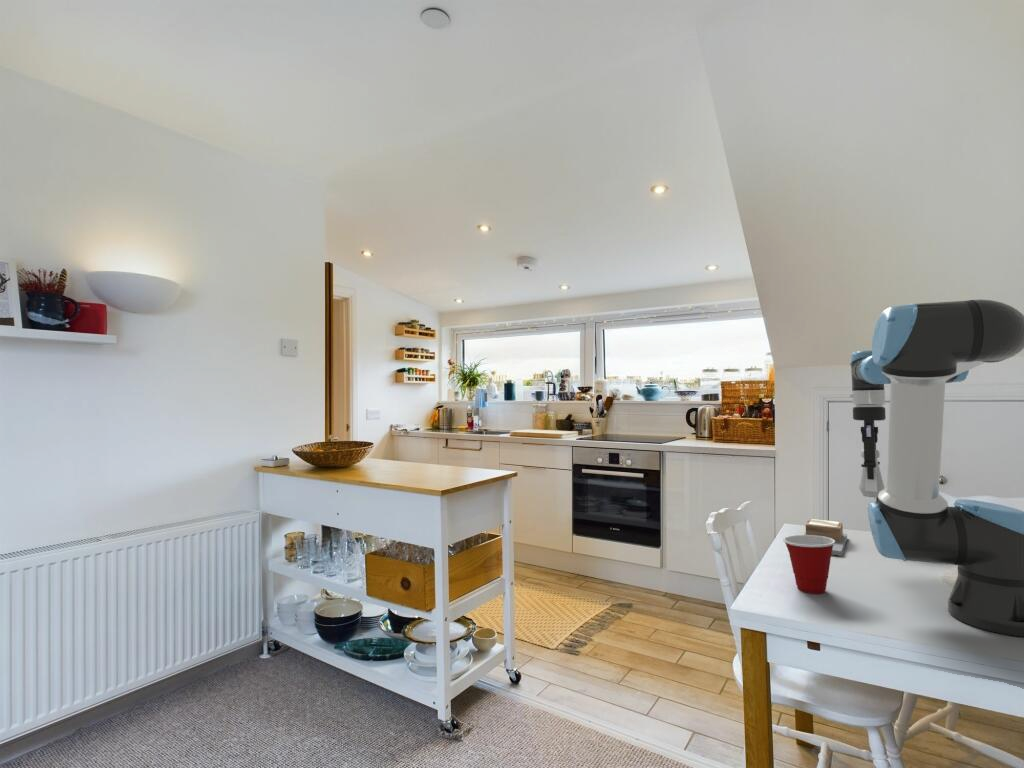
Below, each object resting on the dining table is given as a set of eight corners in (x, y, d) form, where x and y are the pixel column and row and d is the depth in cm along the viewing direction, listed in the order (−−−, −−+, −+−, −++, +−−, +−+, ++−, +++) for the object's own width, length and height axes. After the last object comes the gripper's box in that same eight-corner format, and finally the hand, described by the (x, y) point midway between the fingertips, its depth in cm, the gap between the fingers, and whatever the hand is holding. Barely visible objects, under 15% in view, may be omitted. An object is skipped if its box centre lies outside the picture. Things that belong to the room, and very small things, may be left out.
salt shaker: (876, 494, 147) (875, 448, 147) (889, 498, 141) (887, 450, 141) (854, 494, 147) (853, 448, 148) (866, 498, 142) (864, 450, 142)
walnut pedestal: (840, 542, 155) (839, 527, 155) (806, 537, 160) (805, 523, 160) (842, 535, 162) (842, 521, 162) (809, 531, 168) (809, 518, 168)
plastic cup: (792, 578, 130) (791, 529, 130) (842, 588, 122) (840, 537, 123) (777, 589, 122) (775, 538, 123) (829, 602, 115) (827, 547, 115)
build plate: (841, 556, 146) (841, 551, 146) (797, 550, 153) (797, 545, 153) (847, 538, 164) (847, 533, 164) (807, 533, 170) (807, 529, 170)
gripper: (854, 405, 155) (857, 483, 154) (850, 406, 140) (853, 493, 139) (885, 405, 150) (888, 485, 149) (884, 406, 135) (887, 496, 134)
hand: (871, 489), depth 144 cm, fingers closed on salt shaker, 6 cm apart
